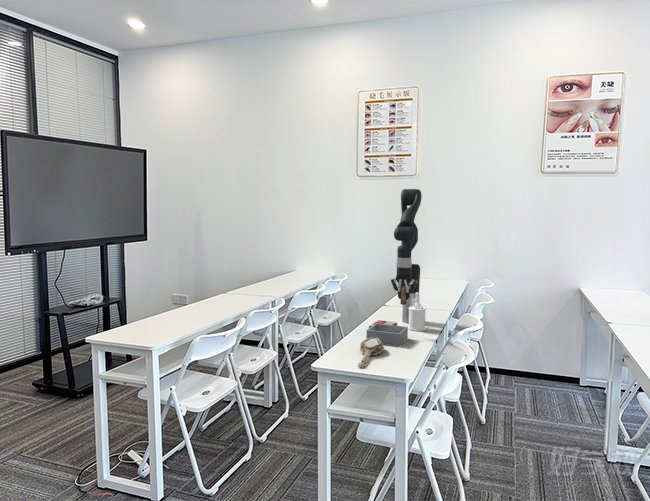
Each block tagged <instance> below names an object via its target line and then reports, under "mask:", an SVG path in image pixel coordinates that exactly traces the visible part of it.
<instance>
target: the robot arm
mask: <svg viewBox="0 0 650 501" xmlns="http://www.w3.org/2000/svg"><path fill="white" fill-rule="evenodd" d="M422 196H423V194H422V191H421V190H420V189H419V188H408V189H407V188H404V189H402V190H401V192H400V209H401V217H400V219H399V220H400V222H398V224H397V225H396V227H395V228H394V232H393V238H394V239H395V240H396V241H399V242H400V241H401V243H400V244H401V245H399V246H397V252H396V253H397V258H396V277H395V278H392V279H391V280H390V282H391V284H392V287H393V290H394V291H396V292H397V299H399V300H401V285H405V287H406V300H407V304H406V305H402V323H404V324H405V323H406V324H409V307H411V306H412V302H413V299H414V298H415V299H414V302H415V300H416V292H418V293H419V294H420V279H421V266H420V265H419V264H416V263H412V251H413V249H414V248H415V247H416V245H417V243H418V241H419V228H418V226H417V224H416V223H415V218H416V215H417V213H418V211H419V208H420V207H421V205H422V204H421V203H422ZM397 283H398V286H397ZM410 283H411V284H410ZM414 302H413V305H414V306H415V304H414ZM415 303H416V302H415Z"/></svg>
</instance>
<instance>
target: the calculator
mask: <svg viewBox="0 0 650 501" xmlns="http://www.w3.org/2000/svg"><path fill="white" fill-rule="evenodd" d="M375 323H377V324H386V325H395V326H398V322H396V321H389V320H388V321H387V320H377V321H375V322H373V323H371V324H370V325H369V326H368V329H369V328H370V327H371V326H373V325H374V324H375Z"/></svg>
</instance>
